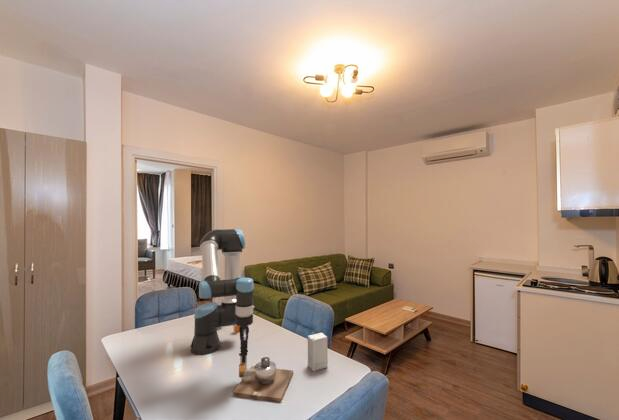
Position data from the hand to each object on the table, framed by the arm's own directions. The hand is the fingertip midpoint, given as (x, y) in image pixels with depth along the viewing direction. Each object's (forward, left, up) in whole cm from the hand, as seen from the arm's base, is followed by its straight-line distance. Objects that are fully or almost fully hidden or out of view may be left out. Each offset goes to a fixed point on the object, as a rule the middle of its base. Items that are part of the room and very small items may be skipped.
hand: (243, 368), depth 120 cm
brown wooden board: (+10, 0, -6) cm, 11 cm away
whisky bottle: (-38, +53, -6) cm, 66 cm away
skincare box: (+30, +18, -6) cm, 35 cm away
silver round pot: (+7, -1, -2) cm, 7 cm away
